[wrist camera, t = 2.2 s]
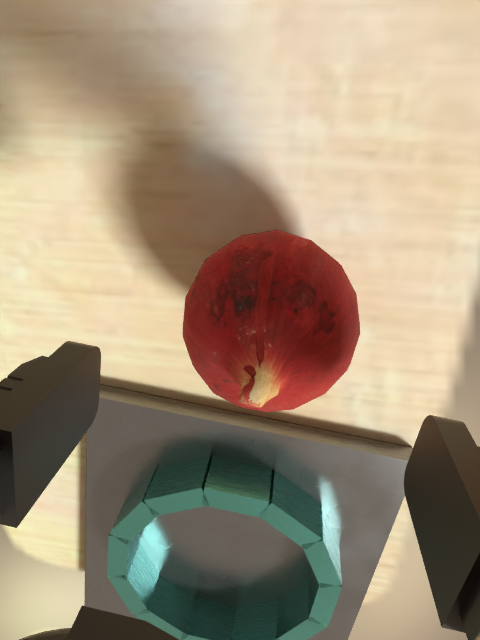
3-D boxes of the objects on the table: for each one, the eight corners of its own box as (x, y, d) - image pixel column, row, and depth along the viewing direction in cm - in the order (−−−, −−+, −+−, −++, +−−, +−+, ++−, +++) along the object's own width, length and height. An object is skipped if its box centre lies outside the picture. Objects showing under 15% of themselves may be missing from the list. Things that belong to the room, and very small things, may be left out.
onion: (191, 228, 18) (116, 299, 11) (338, 199, 17) (363, 257, 10) (224, 356, 20) (179, 488, 13) (356, 338, 19) (388, 472, 12)
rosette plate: (96, 383, 22) (66, 421, 19) (412, 447, 21) (428, 496, 18) (91, 591, 28) (68, 642, 25) (336, 647, 27) (339, 706, 24)
